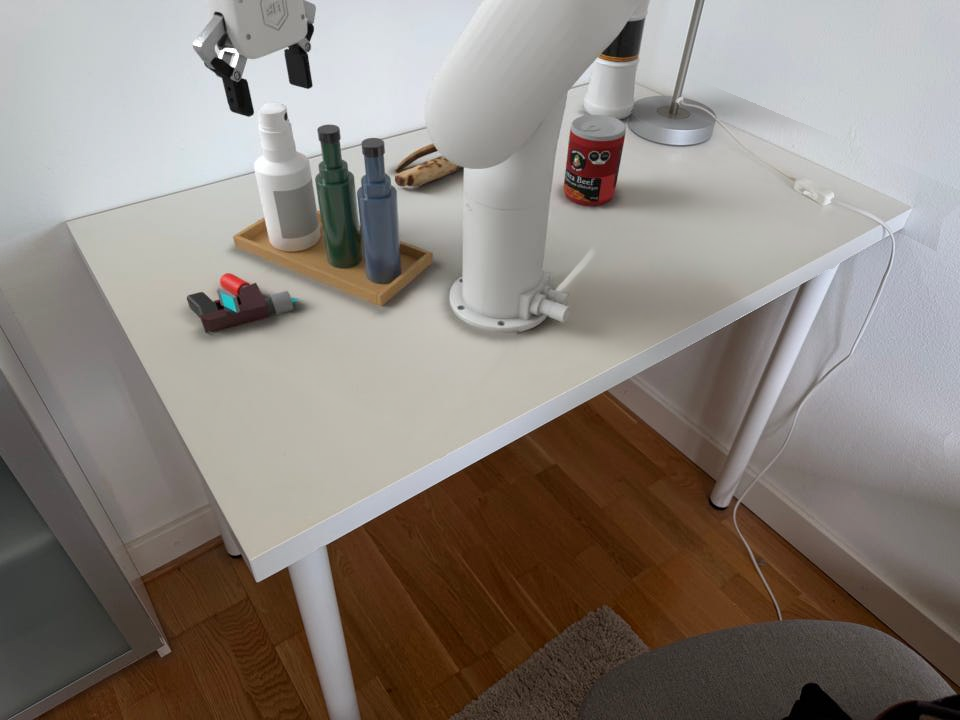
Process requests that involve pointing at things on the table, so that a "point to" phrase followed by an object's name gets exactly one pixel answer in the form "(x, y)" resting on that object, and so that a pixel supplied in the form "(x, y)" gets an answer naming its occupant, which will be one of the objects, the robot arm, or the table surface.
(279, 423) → the table surface
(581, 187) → the canned food
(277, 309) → the toy gun
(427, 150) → the lashed bone hook
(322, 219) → the green bottle
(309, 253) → the tray
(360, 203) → the slate bottle
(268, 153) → the spray bottle
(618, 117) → the vodka
